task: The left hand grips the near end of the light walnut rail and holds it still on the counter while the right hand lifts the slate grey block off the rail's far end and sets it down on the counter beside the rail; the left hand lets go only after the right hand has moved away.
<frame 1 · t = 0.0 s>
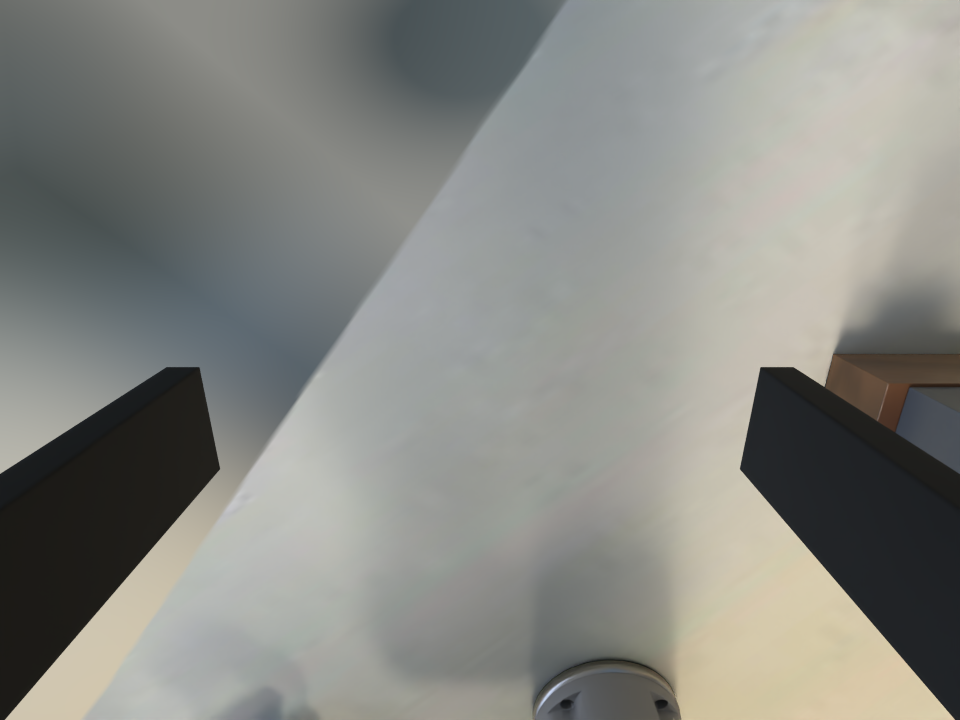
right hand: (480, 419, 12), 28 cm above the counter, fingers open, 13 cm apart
grey block: (934, 418, 37), point 6 cm above the counter, touching walnut rail
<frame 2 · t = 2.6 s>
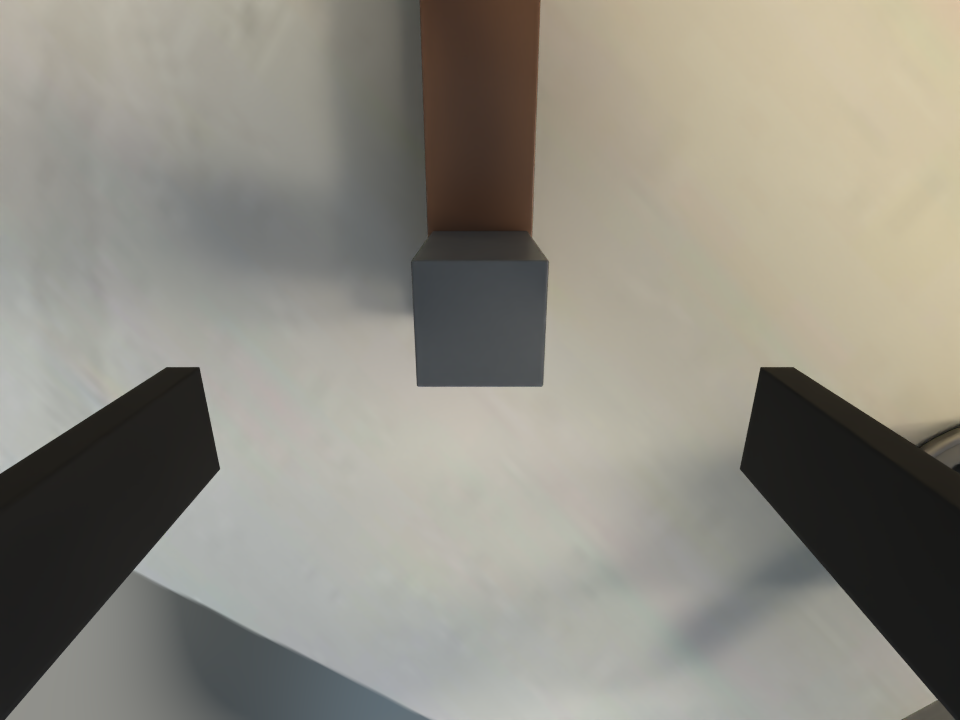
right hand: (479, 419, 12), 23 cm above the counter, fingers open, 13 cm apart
grey block: (480, 278, 28), point 6 cm above the counter, touching walnut rail
walnut rail: (480, 105, 31), on the counter, touching grey block
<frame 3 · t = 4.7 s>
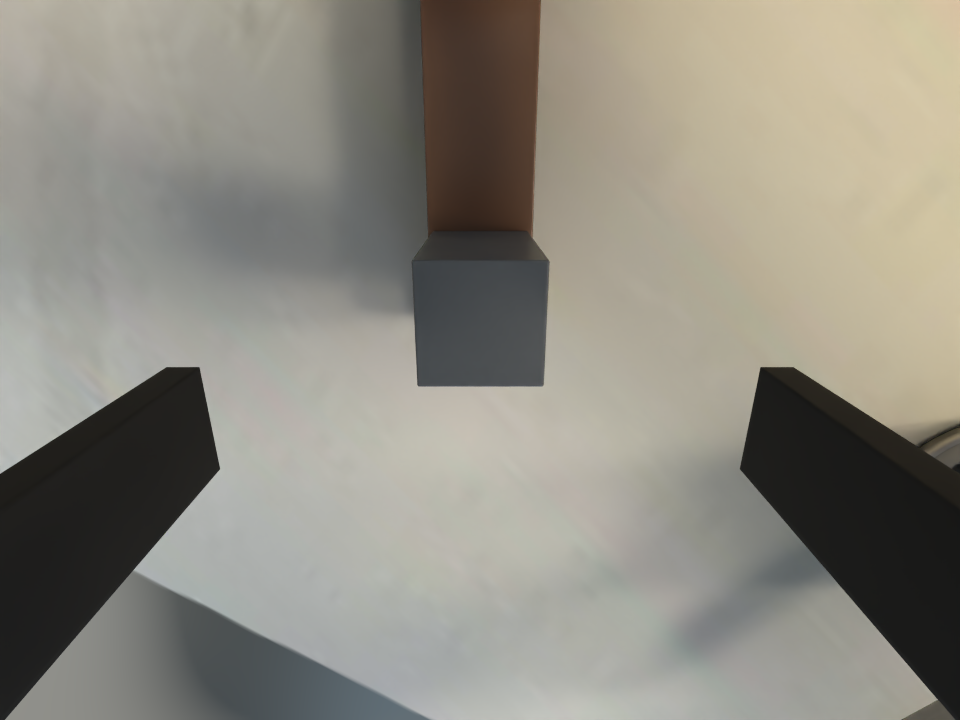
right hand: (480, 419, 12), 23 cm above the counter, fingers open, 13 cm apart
grey block: (480, 278, 28), point 6 cm above the counter, touching walnut rail
walnut rail: (480, 105, 31), on the counter, touching grey block, left hand
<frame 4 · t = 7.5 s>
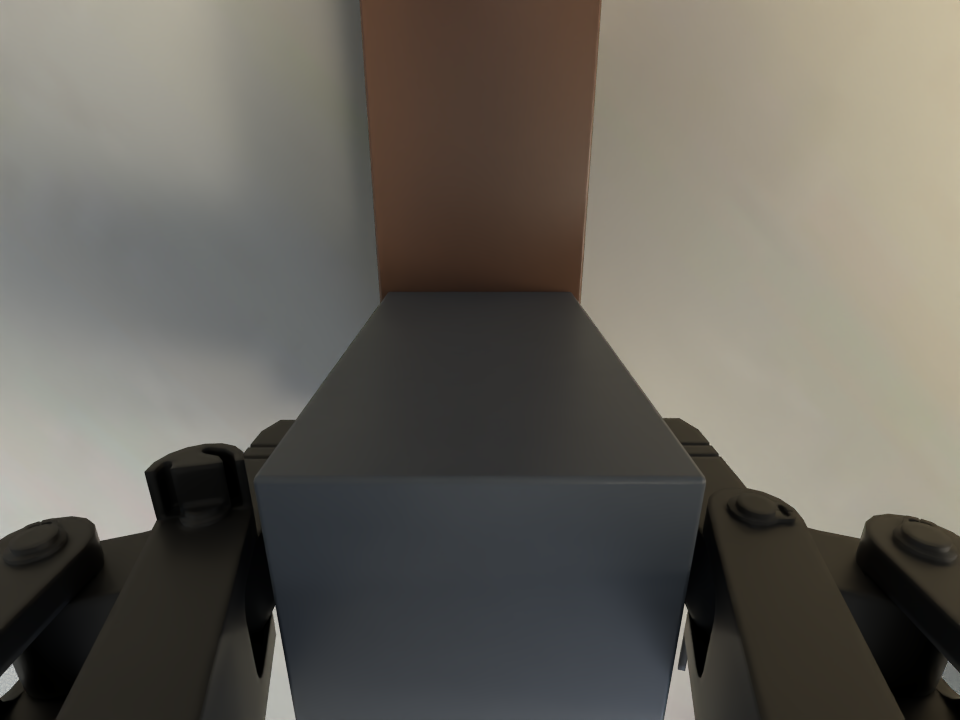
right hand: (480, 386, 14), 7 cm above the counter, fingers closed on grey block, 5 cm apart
grey block: (479, 376, 15), point 6 cm above the counter, touching right hand, walnut rail
walnut rail: (480, 60, 17), on the counter, touching grey block, left hand
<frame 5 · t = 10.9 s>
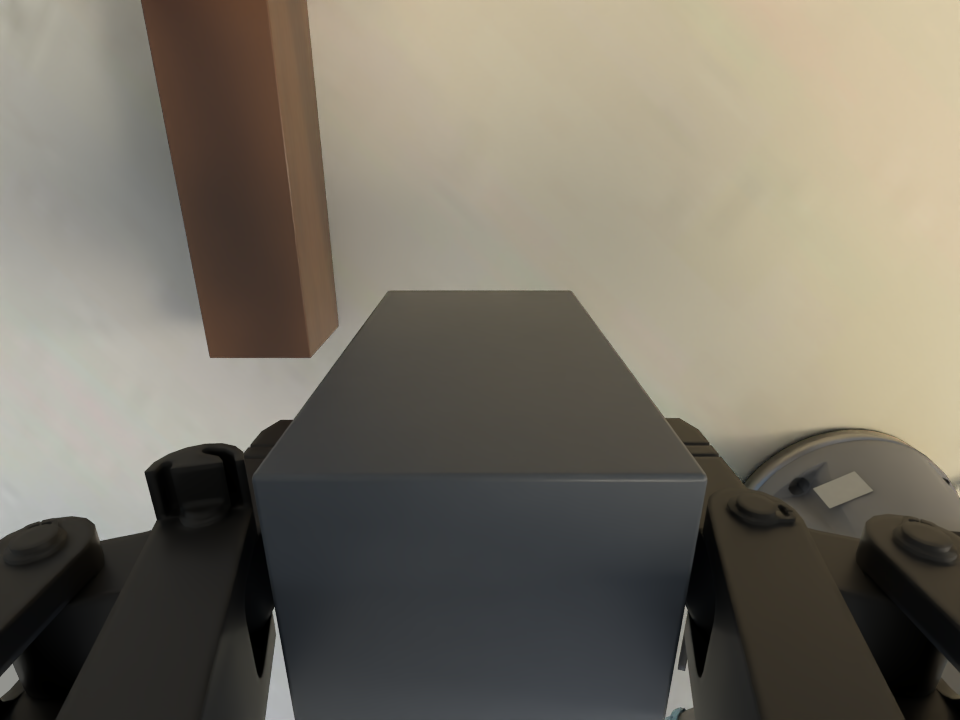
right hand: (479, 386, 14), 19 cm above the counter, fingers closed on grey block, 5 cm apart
grey block: (479, 375, 15), point 19 cm above the counter, touching right hand
walnut rail: (268, 105, 29), on the counter, touching left hand
when the right hand's fingers open (2 cm above the counter, at t = 14.1 s): grey block drops 2 cm, on the counter.
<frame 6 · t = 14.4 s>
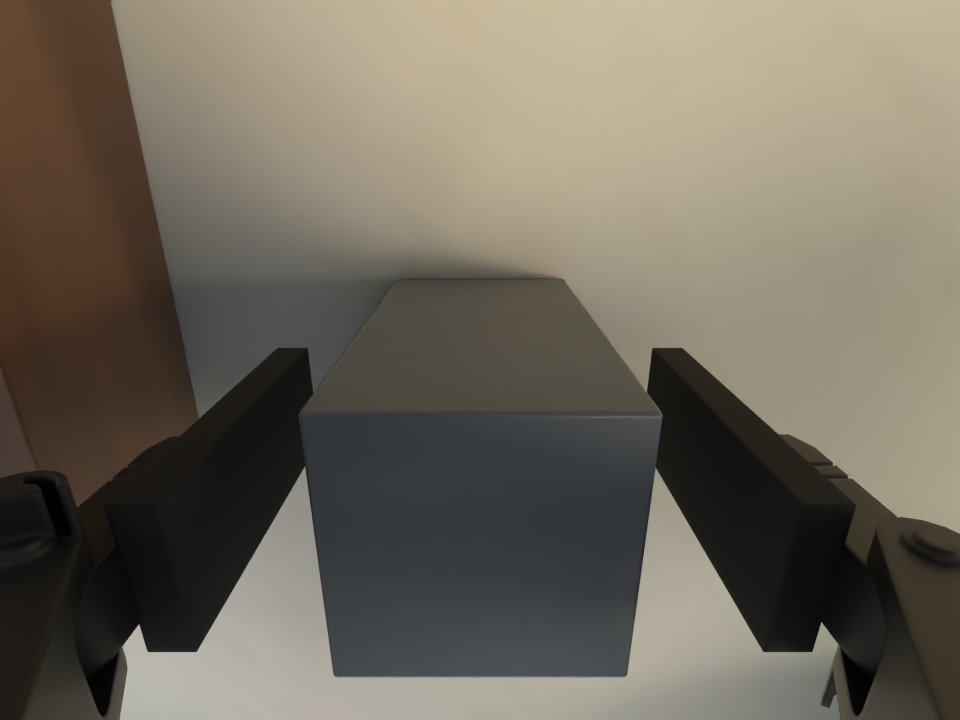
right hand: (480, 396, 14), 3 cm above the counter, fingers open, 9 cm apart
grey block: (480, 357, 16), on the counter
walnut rail: (8, 26, 13), on the counter, touching left hand
when the left hand's fingers open (2 cm above the counter, at t = 17.4 s): walnut rail stays where it is, on the counter.
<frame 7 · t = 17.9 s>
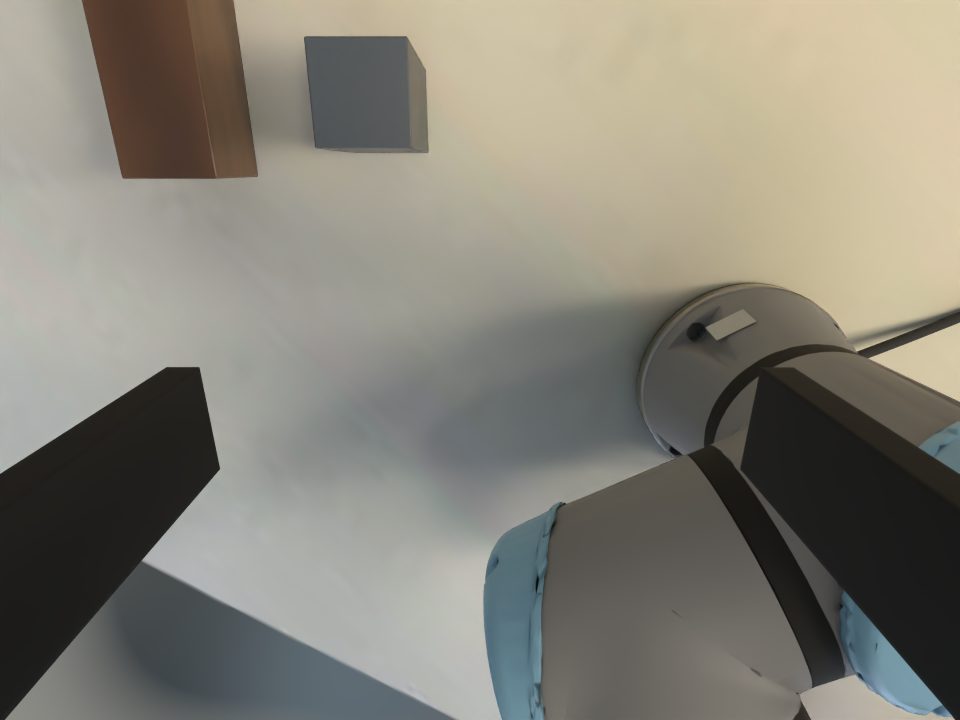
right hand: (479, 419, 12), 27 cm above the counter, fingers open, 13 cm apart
grey block: (389, 111, 34), on the counter
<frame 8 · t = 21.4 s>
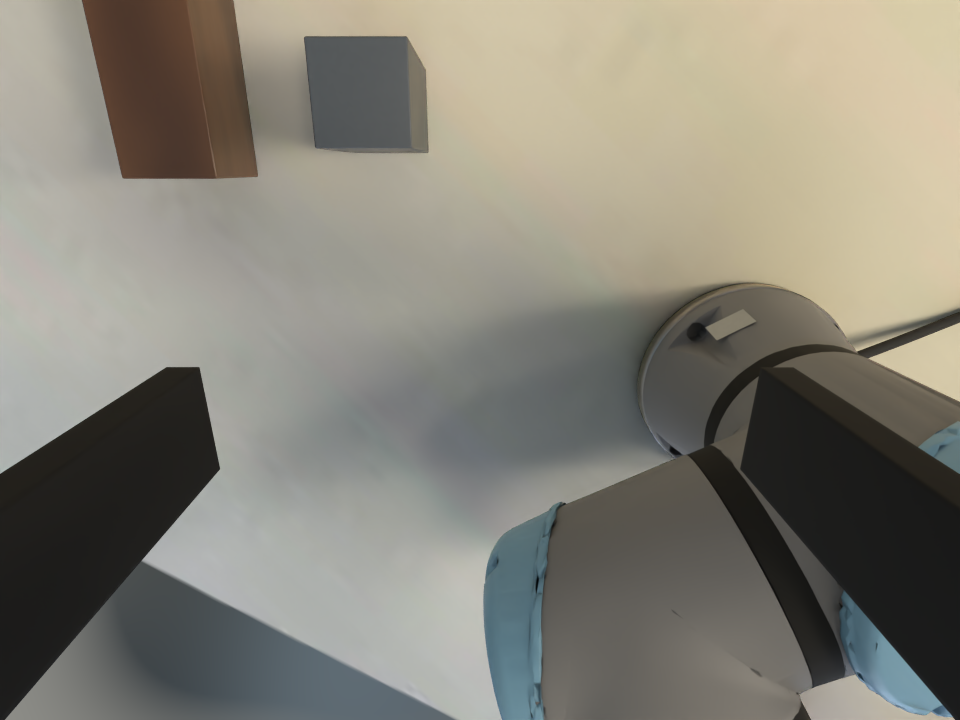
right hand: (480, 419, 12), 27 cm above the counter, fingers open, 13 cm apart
grey block: (389, 111, 34), on the counter
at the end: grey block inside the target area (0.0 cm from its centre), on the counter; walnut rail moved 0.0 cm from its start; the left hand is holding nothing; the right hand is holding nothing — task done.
